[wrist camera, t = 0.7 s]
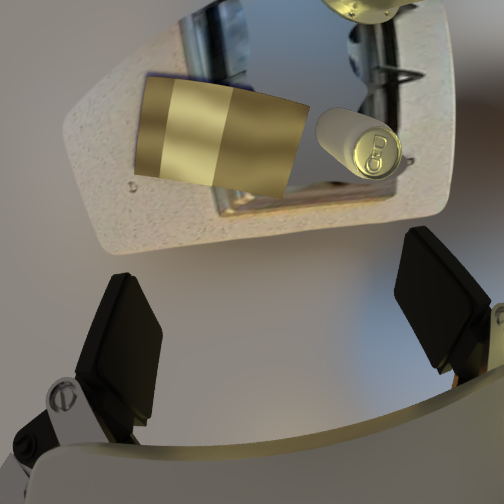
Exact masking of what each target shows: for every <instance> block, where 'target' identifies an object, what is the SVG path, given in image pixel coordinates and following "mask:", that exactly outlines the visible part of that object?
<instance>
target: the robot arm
mask: <svg viewBox="0 0 504 504" xmlns="http://www.w3.org/2000/svg"><path fill="white" fill-rule="evenodd" d="M418 1H423V0H322V2H323V3H324V4H325V5H326V6H327V7H328V8H329V9H331V10H332V11H333V12H334V13H336V14H338V15H339V16H341V17H343V18H345V19H347V20H349V21H352V22H355V23H359V24H366V25H369V24H378V23H382V22H385V21H387V20H389V19H391V18H392V17H393V16H394V15H395V14H396V13H397V11H398V9H399V6H402V5H406V4H410V3H414V2H418ZM349 14H350V15H351V17H350V16H349ZM385 14H386V15H385ZM394 296H395V299H396V301H397V302H398V304H399V306H400V308H401V309H402V311H403V313H404V315H405V316H406V318H407V320H408V322H409V323H410V325H411V327H412V329H413V330H414V333H415V334H416V336H417V338H418V340H419V342H420V344H421V346H422V348H423V349H424V351H425V353H426V355H427V357H428V359H429V361H430V363H431V365H432V367H433V368H437V370H438V373H439V374H440V375H441V374H443V373H445V372H448V371H450V370H452V369H453V371H454V373H455V375H454V380H453V384H452V388H451V390H448V391H446V392H444V393H442V394H439V395H437V396H435V397H432V398H430V399H428V400H425V401H423V402H420V403H418V404H415V405H412V406H409V407H407V408H404V409H401V410H398V411H395V412H392V413H389V414H386V415H384V416H380V417H377V418H374V419H370V420H367V421H363V422H360V423H356V424H353V425H349V426H345V427H341V428H337V429H333V430H328V431H324V432H319V433H315V434H309V435H304V436H299V437H292V438H286V439H279V440H273V441H265V442H256V443H246V444H235V445H218V446H150V445H148V446H147V445H140V443H139V442H138V440H137V439H136V437H135V436H134V434H133V426H146V425H147V419H149V418H150V417H151V414H152V406H153V398H154V390H155V383H156V376H157V369H158V363H159V356H160V350H161V344H162V338H163V333H162V329H161V326H160V325H159V323H158V321H157V319H156V317H155V315H154V313H153V311H152V309H151V307H150V305H149V303H148V301H147V299H146V297H145V295H144V293H143V291H142V289H141V287H140V285H139V283H138V280H137V278H136V277H135V276H131V274H129V273H121V274H114V275H113V276H112V277H111V279H110V281H109V284H108V286H107V288H106V290H105V293H104V295H103V298H102V300H101V302H100V305H99V307H98V309H97V312H96V315H95V317H94V319H93V322H92V325H91V327H90V330H89V332H88V335H87V338H86V340H85V343H84V346H83V349H82V352H81V354H80V357H79V360H78V363H77V366H76V370H75V373H76V376H75V379H74V378H70V377H64V378H61V379H59V380H57V381H56V382H55V383H54V384H52V386H51V387H50V388H49V390H48V393H47V395H46V408H47V409H46V410H45V411H44V412H42V413H41V414H39V415H38V416H37V417H36V418H34V419H33V420H32V421H31V422H29V423H28V424H27V425H26V426H24V427H23V428H22V429H20V431H19V432H18V433H17V434H16V436H15V438H14V441H13V452H14V454H12V453H10V454H9V456H8V457H7V459H6V460H5V462H4V463H3V465H2V466H1V468H0V504H504V303H499V304H496V305H495V306H494V307H493V308H492V309H491V308H490V307H489V305H490V303H491V299H490V298H489V297H488V295H487V294H486V293H485V292H484V290H483V289H482V288H481V287H480V285H479V284H478V283H477V282H476V280H475V279H474V278H473V277H472V276H471V274H469V272H468V271H467V270H466V269H465V267H464V266H463V265H462V264H461V263H460V262H459V261H458V260H457V258H456V257H455V256H454V255H453V254H452V253H451V252H450V251H449V250H448V249H447V248H446V246H445V245H444V244H443V243H442V242H441V241H440V240H439V239H438V238H437V237H436V236H435V235H434V234H433V233H432V232H431V231H430V230H429V229H428V228H427V227H426V226H418V227H413V228H410V229H409V231H408V232H407V233H406V234H405V238H404V245H403V249H402V255H401V260H400V265H399V270H398V274H397V279H396V283H395V288H394Z"/></svg>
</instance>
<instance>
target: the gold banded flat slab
mask: <svg viewBox="0 0 504 504" xmlns="http://www.w3.org/2000/svg"><path fill="white" fill-rule="evenodd" d="M309 108H310V106H307V105H304V104H300V103H297V102H293V101H290V100H286V99H282V98H278V97H274V96H270V95H266V94H262V93H258V92H253V91H249V90H244V89H239V88H234V87H229V86H223V85H217V84H211V83H205V82H198V81H191V80H183V79H174V78H164V77H152V76H147V81H146V86H145V92H144V98H143V104H142V111H141V117H140V125H139V132H138V141H137V150H136V160H135V172H134V174H135V175H143V176H150V177H158V178H163V179H170V180H177V181H183V182H190V183H196V184H202V185H208V186H216V187H222V188H227V189H233V190H239V191H244V192H249V193H255V194H260V195H265V196H270V197H275V198H280V199H282V198H283V195H284V192H285V188H286V185H287V182H288V178H289V175H290V172H291V169H292V165H293V162H294V159H295V155H296V152H297V149H298V145H299V142H300V139H301V135H302V132H303V129H304V125H305V122H306V118H307V115H308V112H309Z"/></svg>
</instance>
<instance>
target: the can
mask: <svg viewBox="0 0 504 504" xmlns="http://www.w3.org/2000/svg"><path fill="white" fill-rule="evenodd" d="M316 137H317V140H318V142H319V144H320V145H321V146H322V147H323V148H324V149H325V150H326V151H327V152H329V153H330V154H331V155H332V156H333V157H335V158H336V159H337V160H338V161H339V162H341V163H342V164H343V165H344V166H345V167H347V168H348V169H349V170H350V171H352V172H353V173H354V174H356V175H357V176H359V177H362V178H367V179H370V180H382V179H385V178H387V177H389V176H390V175H391V174H393V173H394V172H395V170H396V169H397V167H398V166H399V164H400V161H401V157H402V147H401V143H400V140H399V138H398V137H397V135H396V134H395V133H394V132H393V131H392V130H391V129H390V127H388V126H387V125H386V124H384V123H383V122H381V121H379V120H376V119H374V118H371V117H368V116H365V115H363V114H360V113H357V112H354V111H351V110H347V109H344V108H332V109H329V110H328V111H326V112H325V113H323V114H322V115H321V116H320V118H319V119H318V121H317V124H316Z"/></svg>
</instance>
